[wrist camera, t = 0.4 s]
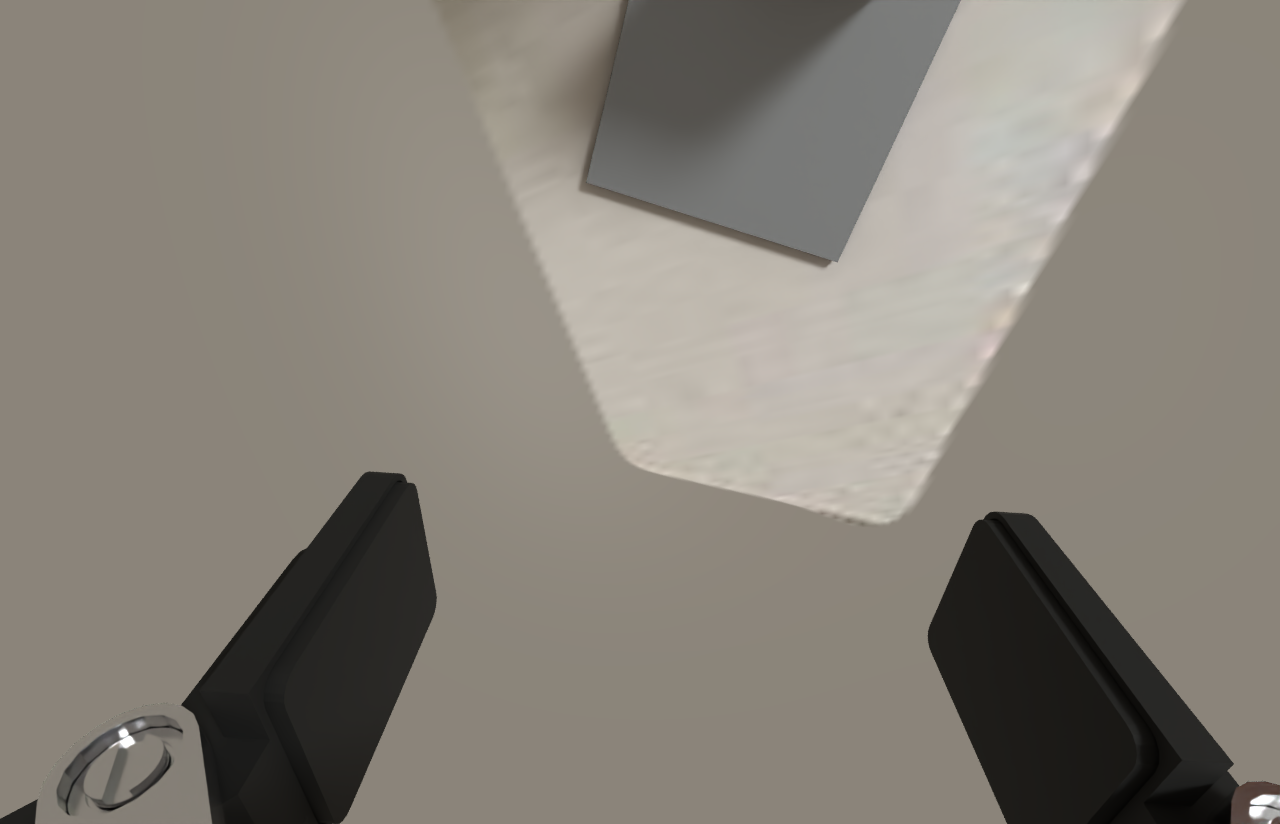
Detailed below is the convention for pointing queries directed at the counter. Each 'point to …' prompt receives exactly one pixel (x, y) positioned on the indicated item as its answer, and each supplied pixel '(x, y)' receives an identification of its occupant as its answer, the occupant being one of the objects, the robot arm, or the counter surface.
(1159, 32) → the counter surface
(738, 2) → the rubber mat
